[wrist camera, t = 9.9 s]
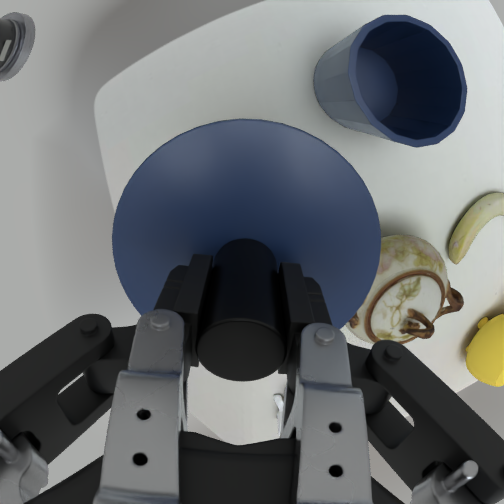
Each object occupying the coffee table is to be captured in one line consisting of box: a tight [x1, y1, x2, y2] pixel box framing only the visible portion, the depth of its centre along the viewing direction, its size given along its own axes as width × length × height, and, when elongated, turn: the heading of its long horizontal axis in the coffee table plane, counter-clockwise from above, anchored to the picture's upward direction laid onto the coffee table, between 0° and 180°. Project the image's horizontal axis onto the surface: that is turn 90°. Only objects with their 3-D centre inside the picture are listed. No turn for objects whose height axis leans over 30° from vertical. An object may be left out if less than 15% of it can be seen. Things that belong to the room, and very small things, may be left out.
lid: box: [112, 119, 381, 381], centre depth 11 cm, size 12×12×6 cm
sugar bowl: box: [345, 235, 464, 344], centre depth 33 cm, size 20×15×15 cm
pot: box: [314, 15, 467, 147], centre depth 23 cm, size 11×11×14 cm
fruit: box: [449, 193, 504, 265], centre depth 35 cm, size 7×15×3 cm, turn 124°
